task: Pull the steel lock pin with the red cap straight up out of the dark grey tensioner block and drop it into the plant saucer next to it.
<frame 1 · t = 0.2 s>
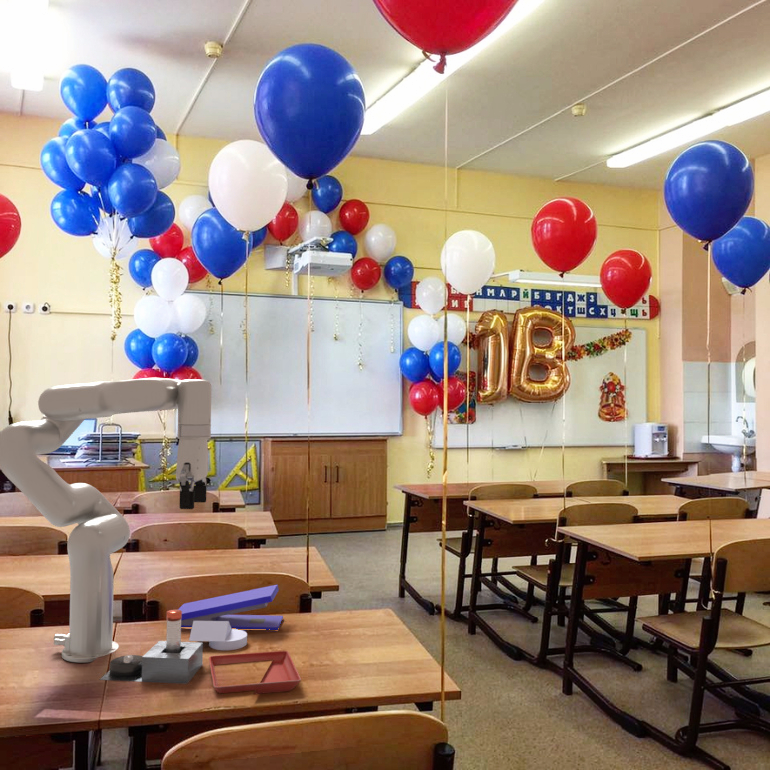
hand: (193, 505, 172), 36 cm above the table, tool pointing down, fingers open, 9 cm apart
wedge on round base: (219, 649, 180), on the table
plant saucer: (253, 683, 161), on the table
stapler: (228, 625, 198), on the table
lock pin: (172, 672, 161), point 1 cm above the table, touching tensioner block
tensioner block: (172, 677, 161), on the table
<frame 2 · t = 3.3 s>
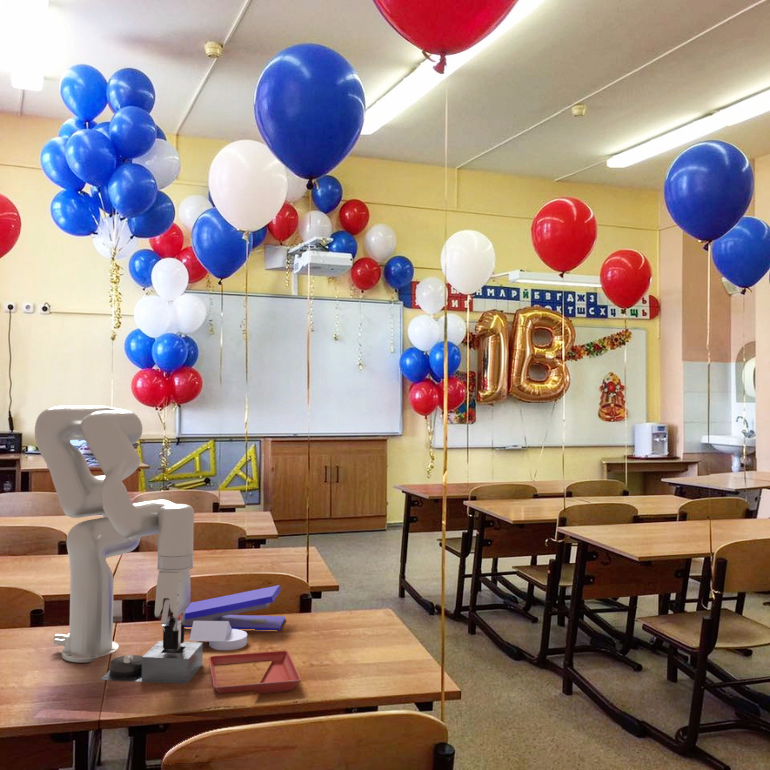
hand: (173, 644, 161), 7 cm above the table, tool pointing down, fingers closed on lock pin, 3 cm apart
lock pin: (172, 672, 161), point 1 cm above the table, touching gripper, tensioner block
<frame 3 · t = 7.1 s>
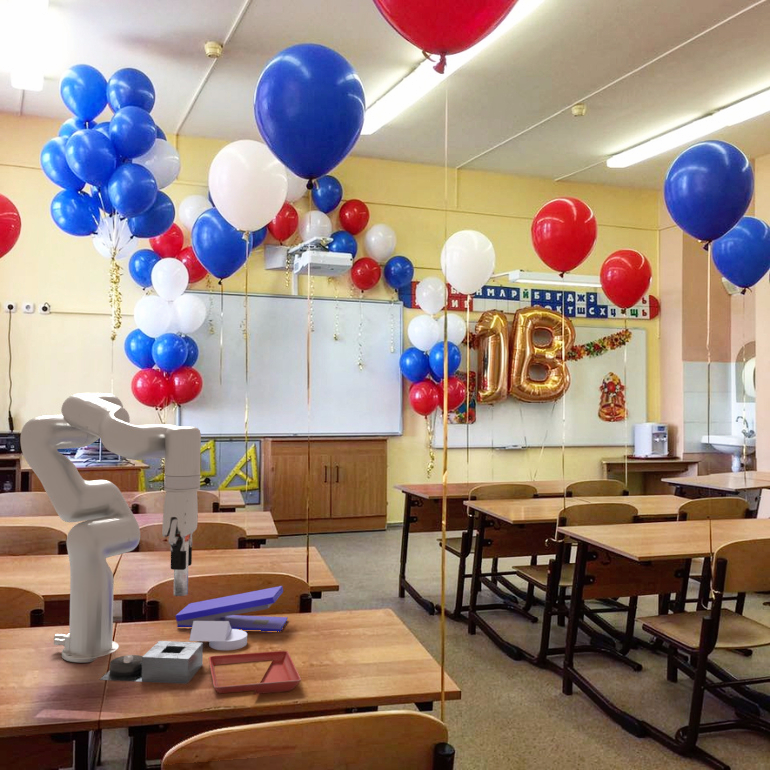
hand: (181, 566, 161), 24 cm above the table, tool pointing down, fingers closed on lock pin, 3 cm apart
lock pin: (180, 594, 161), point 18 cm above the table, touching gripper
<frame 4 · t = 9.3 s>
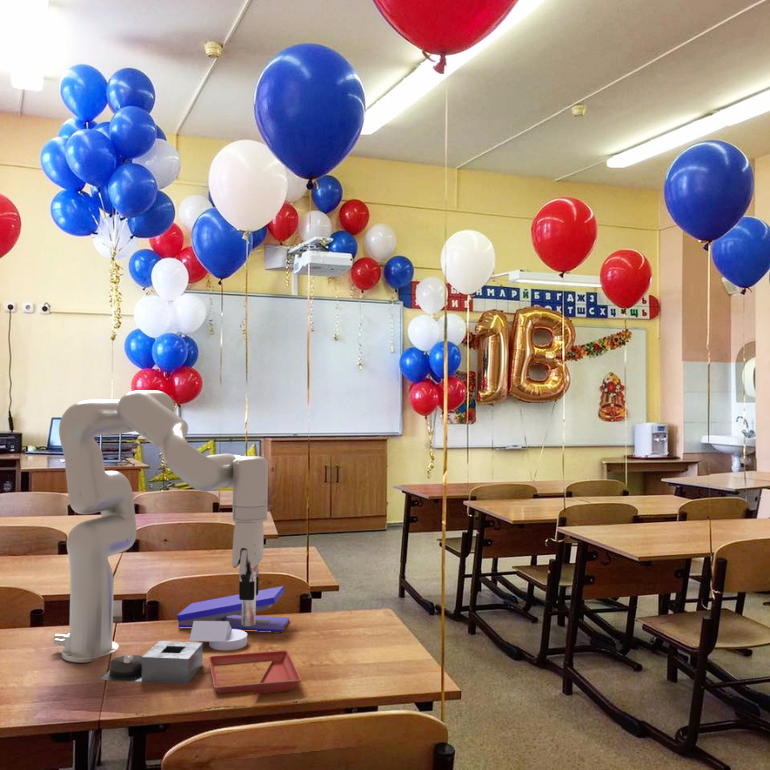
hand: (248, 596, 161), 18 cm above the table, tool pointing down, fingers closed on lock pin, 3 cm apart
lock pin: (248, 623, 161), point 12 cm above the table, touching gripper
when the fingers open (10 cm above the table, at t = 11.0 s): lock pin stays where it is, resting on plant saucer.
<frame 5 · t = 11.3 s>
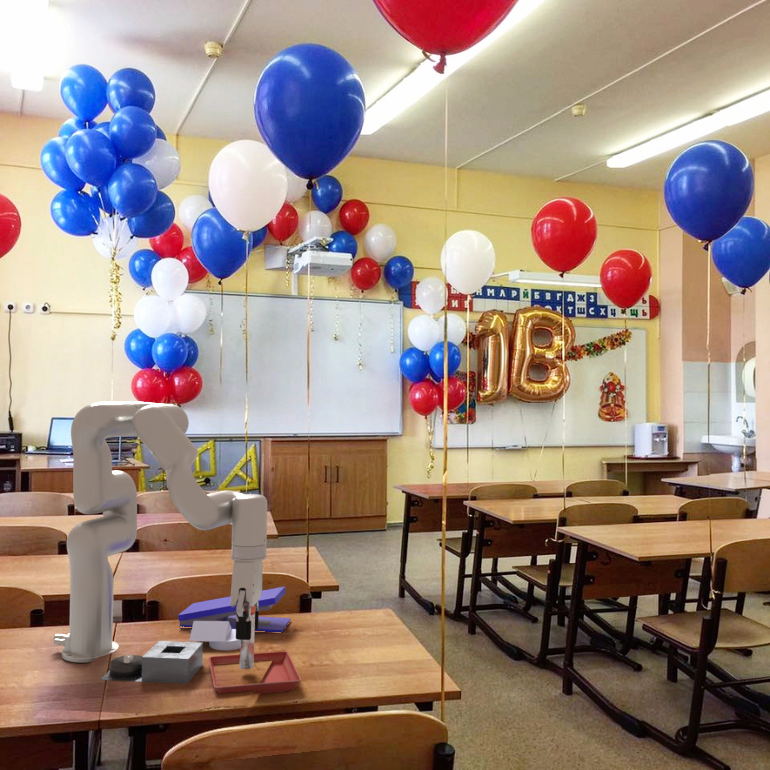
hand: (247, 633, 161), 10 cm above the table, tool pointing down, fingers open, 6 cm apart
plant saucer: (253, 683, 161), on the table, touching lock pin
lock pin: (246, 666, 161), point 3 cm above the table, touching plant saucer
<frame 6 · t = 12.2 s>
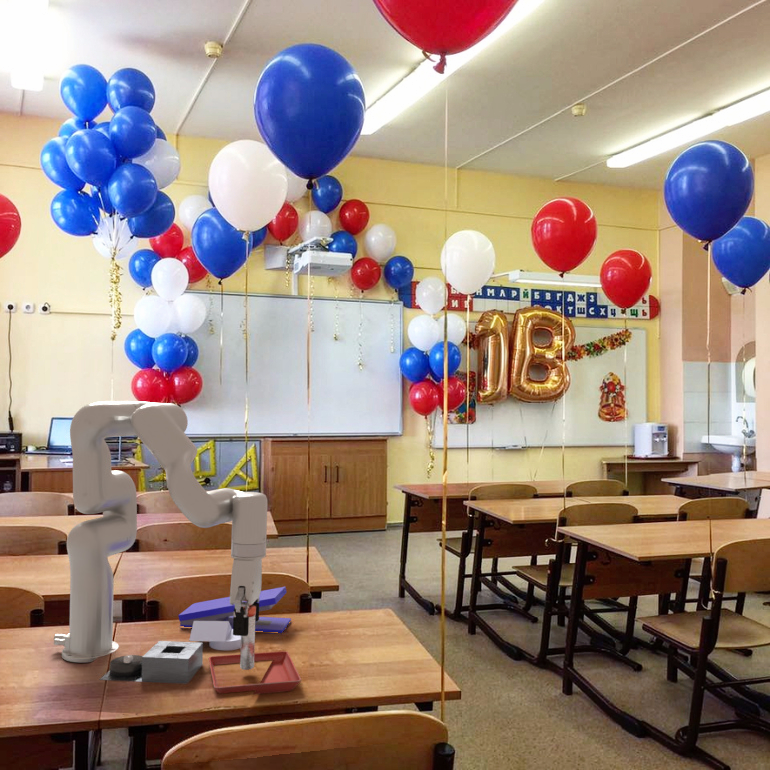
hand: (246, 627, 161), 11 cm above the table, tool pointing down, fingers open, 9 cm apart
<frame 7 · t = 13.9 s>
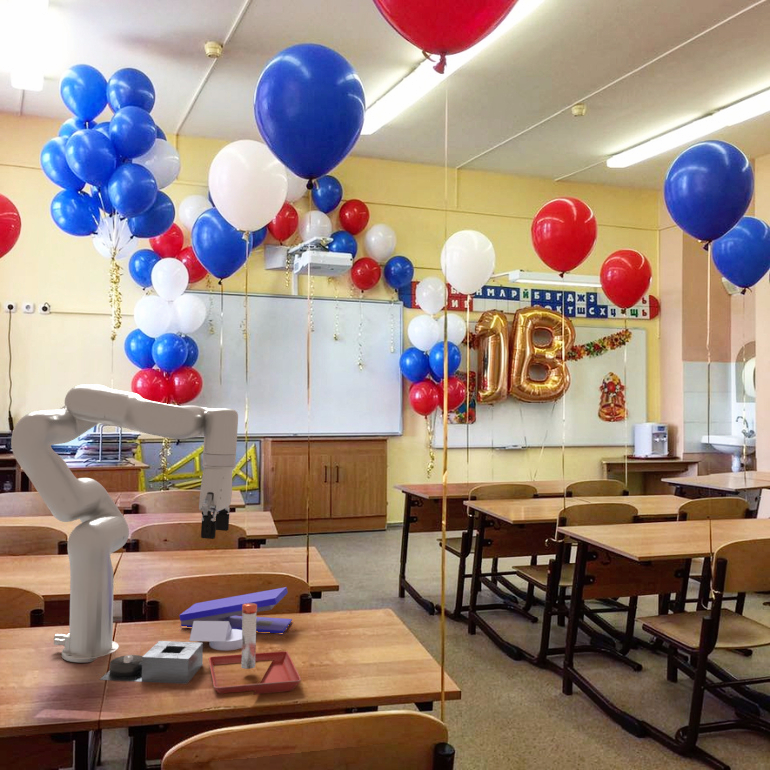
hand: (215, 534, 173), 29 cm above the table, tool pointing down, fingers open, 9 cm apart
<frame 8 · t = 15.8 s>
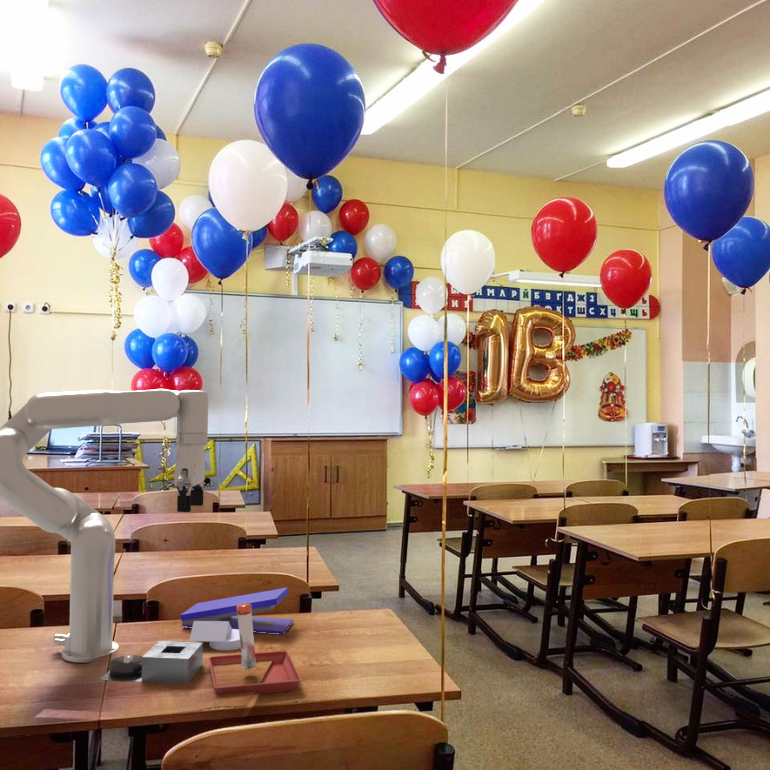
hand: (190, 508, 183), 33 cm above the table, tool pointing down, fingers open, 9 cm apart
at the end: lock pin inside the target area in the plant saucer (0.8 cm from its centre), point 3.6 cm above the plant saucer's base; the gripper is holding nothing; lock pin moved 16.8 cm from its start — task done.
